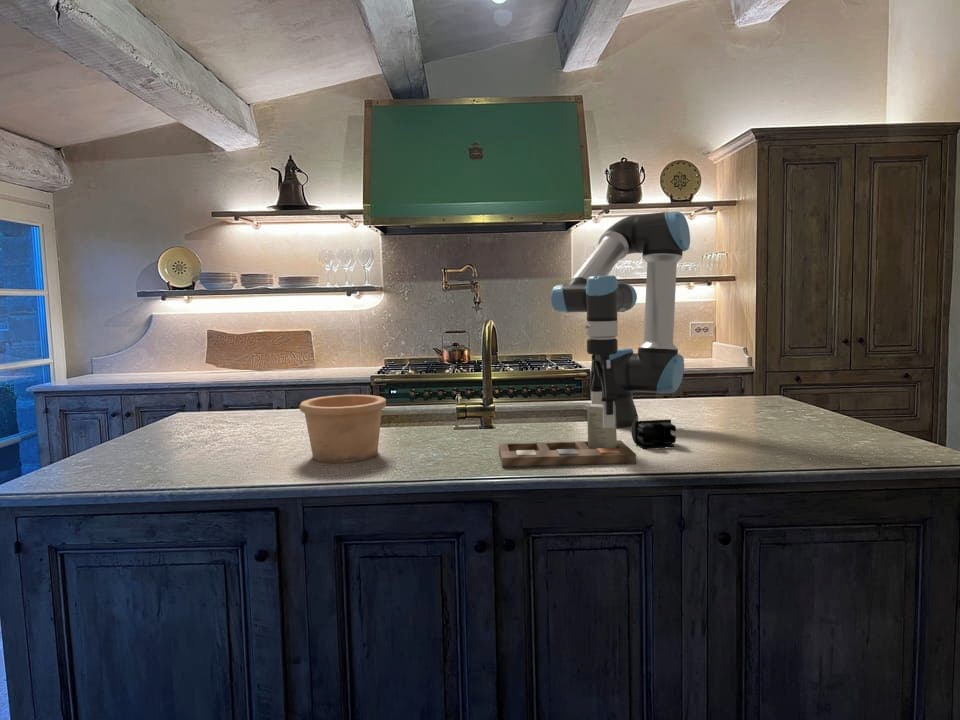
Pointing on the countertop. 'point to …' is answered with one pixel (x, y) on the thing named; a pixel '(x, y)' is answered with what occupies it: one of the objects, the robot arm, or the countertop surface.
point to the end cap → (653, 433)
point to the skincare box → (599, 429)
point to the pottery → (343, 427)
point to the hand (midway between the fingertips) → (602, 421)
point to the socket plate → (563, 454)
